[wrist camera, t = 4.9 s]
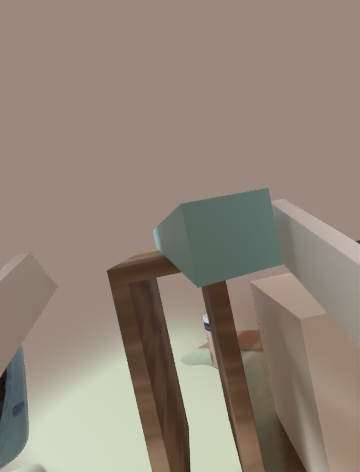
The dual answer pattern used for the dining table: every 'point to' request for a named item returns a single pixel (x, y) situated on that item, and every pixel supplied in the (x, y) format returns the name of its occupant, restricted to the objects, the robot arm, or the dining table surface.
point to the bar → (221, 237)
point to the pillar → (310, 374)
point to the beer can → (210, 340)
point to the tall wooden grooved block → (163, 366)
